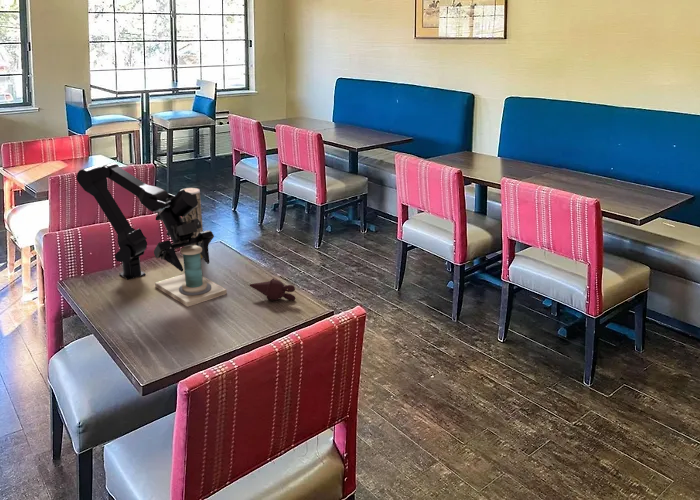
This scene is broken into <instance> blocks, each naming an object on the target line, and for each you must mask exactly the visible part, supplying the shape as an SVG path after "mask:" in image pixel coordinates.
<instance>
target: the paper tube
mask: <svg viewBox="0 0 700 500" xmlns="http://www.w3.org/2000/svg"><path fill="white" fill-rule="evenodd" d="M183 189H184V190H185V191H186V192H189V193H191V194H192V195H194V196H195V197H196V199H197V201H198V205H197V206H196V207H195V208H194V209H193V210H192V211H191V212H190V213H189V214H187V215H186V216H184V217H182V216H181V218H182V220H183V222H185V221H186V222H187V223H191V220H193V219H197V218H198V219H199V221H200V223H201V228H199V229H197V230H198V232H194V235H193V236H192V237H191V238H195V237H197V236H198V234H199V233H200V232H203V230H204V229H203V228H204V227H203V218H202V216H203V215H202V214H203V213H202V206H201V205H202V204H201V203H202V202H201V191H200V190H201V189H200V188H197V187H186V188H185V187H184V188H182V189H181V190H183ZM188 246H197V245H196V244H192V245H188ZM185 247H186V246H185ZM200 257H201V260H202V259H204V258H203V257H202V255H201V253H200Z"/></svg>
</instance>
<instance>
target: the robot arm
mask: <svg viewBox="0 0 700 500" xmlns="http://www.w3.org/2000/svg"><path fill="white" fill-rule="evenodd" d="M107 178H108V179H107ZM108 180H110V181H112V182H114V183H115V184H117V185H119V186H120V187H121V188H123V189H124V190H126V191H128V192H129V193H131V194H133V195H134V196H135V197H137V198H138V199H139V201H140V204H141V205H142V206H144V207H145V208H146V209H147V210H148V211H150V212H156V211H157V213H156V216H155V221H162V223H163V225H164V227H165V229H166V231H167V232H166V235H167V237H170V240H171V241H172V242H171V241H170V240H165V241H161V242H160V241H159V242H158V243H157V244H156V247H155V248H154V250H153V254H154V257H155V258H156V259H160V260H164V261H166V262H168V263H170V265H171V266H173V267H175V268H176V269H178V270H179V271H180V272H181V273H182V272H184V268H183V267H184V266H183V265H182V263H181V261H180V260H179V258H178V256H177V254H176V249H181V248H183V247H185V246H188V245H192V244H196V245H197V246H200V247H202V252H201V255H202V257H203V258H202V259H203V260H204V262H205V263H206V264H207V265H209V264H210V255H209V254H210V253H209V244H210V243H211V241H212V240H213V239H214V238H215V234H214V233H213V232H212V231H211V230H209V229H207V230H204V231H203V232H200V233H199V234H198V236H197V237H195V238H191V237H192V236H193V235H194V232H198V230H197V229H199V228H201V223H200V221H199V219H198V218H197V219H193V220H191V223H187V222H186V221H185V222H183V220H182V217H184V216H186V215H187V214H189V213H190V212H191V211H192V210H193V209H194V208H195V207H196V206H197V205H198V201H197V199H196V197H195V196H194V195H192V194H191V193H189V192H186V191H185V190H184V189H185V188H182V189H183V190H182V189H180V190H179V191H178V192H177V194H176V195H174V194H171V193H168V191H166V190H165V189H163V188H161V187H159V186H155V185H150V184H148V183H145V182H144V181H142V180H141V179H139V178H137V177H136V176H135V175H132V174H131V173H129V172H128V171H126V170H125V169H123V168H121V166H120V165H118V163H116V162H111V163H107V164H105V165H103V166H98V165H92V166H89V167H86V168H82V169H80V170H78V172H77V174H76V181H77V183H78V184H79V185H80V187H81V188H82V190H84V191H85V192H86V193H88V194H89V195H91V196H93V197H94V199H95V200H96V202H97V203H98V206H99V207H100V209H101V211H102V212H103V214H104V215H105V216H106V218H107V220H108V221H109V223H110V225H111V227H112V229H114V231H115V233H116V235H117V246H118V247H119V250H118V251H117V252H116V253H115V254H114V258H115V260H116V262H120V263H121V265H122V271H121V272H119V273H118V274H119V275H120V276H121V277H123V278H124V279H125V280H127V281H128V280H132V279H136V278H140V277H143V276H146V272H145V271H142V269H141V268H142V267H141V260H140V259H141V258H140V257H141V256H143V255H145V251H146V249H147V246H148V241H147V237H146V236H145V235H144V234H143V231H142V229H141V228H137V229H136V228H134V227H132V226H131V224H130V223H129V221H128V219H127V218H126V216H125V214H124V213H123V212H122V209H121V208H120V206H119V205H118V204H117V202H116V200H115V198H114V197H113V194H111V192H110V190H109V188H108V185H109V184H108ZM159 210H161V211H159Z"/></svg>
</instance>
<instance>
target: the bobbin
mask: <svg viewBox="0 0 700 500" xmlns="http://www.w3.org/2000/svg"><path fill="white" fill-rule="evenodd" d="M179 249H180V254H181V255H182V259H183V267H184V268H183V271H184V274H185V280H186V282H184V283H183V284H182V290H183V291H185V292H188V293H196V292H201V291H203V290H205V289H206V288H207V282H206V281H204V280H203V279H202V276H203V272H202V271H203V269H202V259H201V257H200V253H201V252H202V247H200V246H186V247H181V248H179Z"/></svg>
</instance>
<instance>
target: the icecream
mask: <svg viewBox="0 0 700 500" xmlns="http://www.w3.org/2000/svg"><path fill="white" fill-rule="evenodd" d="M249 287H250V288H252V289H254V290H256V291H257V292H259V293H261V294H262V295H264V296H266V299H267V300H268V301H270V300H271V301H277V300H280V299H282V298H284V299H285V300H286V301H287V300H288V301H290V300H292V302H293V301H295V300H296V296H295V295H294V294H292V293H293V292H295V291H296V288H295V286H294V285H293V284H287V285H285V283H283V282H282V281H281V280H279V279H275V278H274V277H272V278H271V279H270V280H269V281H264V282H263V281H262V282H257V283H256V282H255V283H250V284H249Z"/></svg>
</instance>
